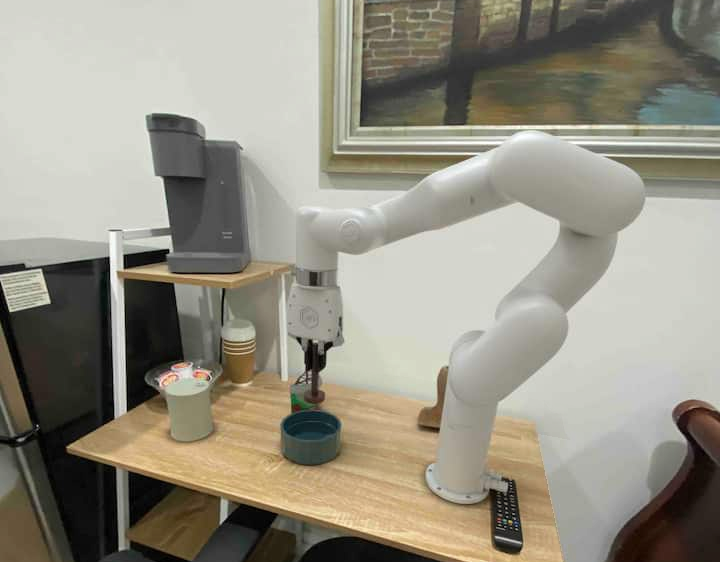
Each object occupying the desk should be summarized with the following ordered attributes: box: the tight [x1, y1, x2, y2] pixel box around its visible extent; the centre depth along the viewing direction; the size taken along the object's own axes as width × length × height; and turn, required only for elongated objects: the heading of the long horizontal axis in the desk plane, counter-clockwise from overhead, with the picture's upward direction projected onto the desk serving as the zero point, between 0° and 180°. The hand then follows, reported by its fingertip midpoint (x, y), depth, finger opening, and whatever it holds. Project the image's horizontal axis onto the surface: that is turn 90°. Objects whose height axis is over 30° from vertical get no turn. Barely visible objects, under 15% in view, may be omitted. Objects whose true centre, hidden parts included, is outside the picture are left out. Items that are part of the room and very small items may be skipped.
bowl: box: [279, 409, 343, 466], centre depth 86 cm, size 13×13×6 cm
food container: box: [289, 369, 323, 414], centre depth 100 cm, size 12×6×10 cm, turn 168°
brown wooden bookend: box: [417, 365, 449, 429], centre depth 98 cm, size 15×12×15 cm
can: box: [164, 377, 214, 443], centre depth 89 cm, size 9×9×12 cm
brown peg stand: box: [304, 341, 326, 405], centre depth 78 cm, size 4×4×12 cm
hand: (315, 369), depth 78 cm, fingers closed on brown peg stand, 1 cm apart
